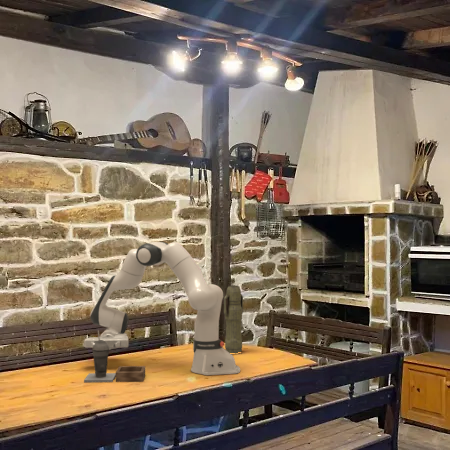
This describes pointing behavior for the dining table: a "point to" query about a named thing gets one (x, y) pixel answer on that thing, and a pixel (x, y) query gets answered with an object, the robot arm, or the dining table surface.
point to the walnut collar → (130, 374)
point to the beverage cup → (100, 357)
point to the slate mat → (92, 378)
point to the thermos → (233, 319)
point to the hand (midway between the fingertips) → (104, 345)
